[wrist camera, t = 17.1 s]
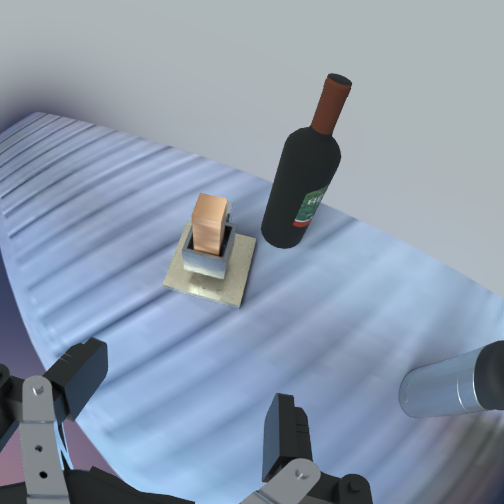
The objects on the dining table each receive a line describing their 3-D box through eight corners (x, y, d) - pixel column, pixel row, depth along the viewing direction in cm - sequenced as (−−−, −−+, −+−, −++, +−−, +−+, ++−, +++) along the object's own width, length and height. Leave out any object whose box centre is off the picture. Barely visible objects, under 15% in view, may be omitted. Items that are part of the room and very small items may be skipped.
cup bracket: (255, 243, 49) (265, 207, 41) (239, 308, 43) (246, 283, 35) (188, 226, 49) (184, 188, 40) (164, 288, 43) (153, 258, 34)
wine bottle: (274, 206, 54) (321, 59, 28) (309, 227, 52) (378, 87, 26) (252, 232, 50) (293, 73, 24) (289, 256, 49) (362, 106, 23)
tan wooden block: (222, 251, 42) (227, 198, 32) (217, 270, 40) (221, 221, 30) (201, 246, 42) (199, 193, 31) (195, 265, 40) (191, 215, 30)
